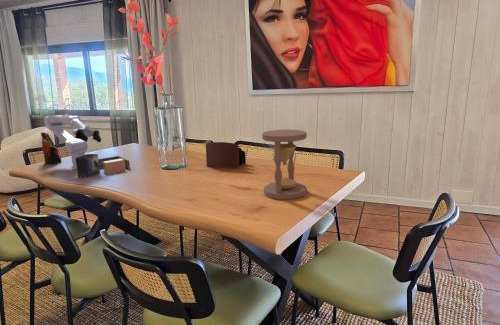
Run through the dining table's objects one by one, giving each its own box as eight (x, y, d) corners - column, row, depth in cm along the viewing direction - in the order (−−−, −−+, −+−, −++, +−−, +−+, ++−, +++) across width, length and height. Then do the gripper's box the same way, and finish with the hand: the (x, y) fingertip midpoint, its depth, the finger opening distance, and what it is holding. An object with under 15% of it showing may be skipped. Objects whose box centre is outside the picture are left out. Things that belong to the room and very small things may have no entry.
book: (104, 172, 187) (102, 161, 186) (122, 168, 193) (121, 158, 192) (106, 174, 184) (105, 163, 182) (125, 170, 189) (124, 159, 188)
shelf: (95, 168, 197) (94, 159, 196) (120, 163, 205) (119, 155, 204) (103, 173, 184) (102, 164, 183) (130, 168, 192) (129, 160, 191)
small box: (88, 177, 177) (85, 158, 175) (77, 177, 179) (74, 157, 176) (101, 172, 187) (98, 153, 185) (90, 172, 189) (87, 153, 186)
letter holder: (239, 168, 182) (237, 142, 179) (206, 166, 190) (204, 141, 186) (246, 164, 191) (245, 139, 188) (214, 162, 199) (213, 138, 195)
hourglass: (290, 203, 129) (289, 137, 123) (255, 194, 140) (252, 134, 134) (314, 190, 142) (314, 130, 136) (280, 183, 153) (279, 128, 147)
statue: (62, 162, 215) (57, 131, 210) (49, 165, 209) (43, 133, 205) (55, 160, 223) (49, 130, 218) (42, 162, 217) (36, 131, 212)
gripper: (70, 120, 182) (83, 132, 175) (95, 123, 194) (108, 134, 188) (66, 132, 184) (79, 144, 177) (91, 134, 196) (104, 145, 190)
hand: (93, 140), depth 183 cm, fingers open, 7 cm apart
